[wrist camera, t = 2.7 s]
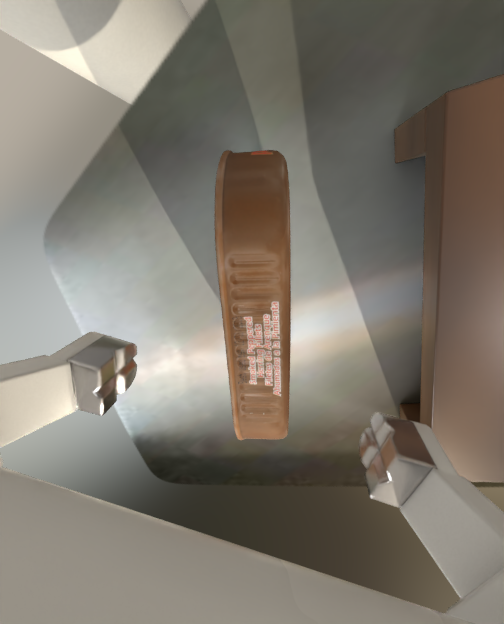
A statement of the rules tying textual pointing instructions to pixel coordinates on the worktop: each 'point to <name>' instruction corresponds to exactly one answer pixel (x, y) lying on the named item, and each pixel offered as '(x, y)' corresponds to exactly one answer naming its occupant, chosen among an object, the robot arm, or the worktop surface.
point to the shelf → (462, 274)
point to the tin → (255, 288)
